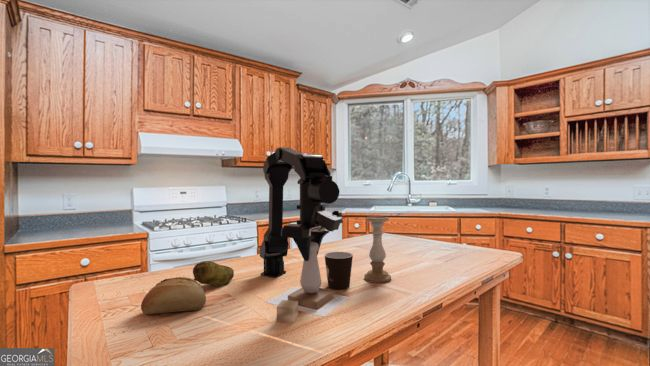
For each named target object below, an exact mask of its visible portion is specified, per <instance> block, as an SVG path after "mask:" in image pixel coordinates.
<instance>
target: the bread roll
mask: <svg viewBox="0 0 650 366" xmlns="http://www.w3.org/2000/svg"><path fill="white" fill-rule="evenodd" d="M143 297H144V298H143V299H142V301H141V304H140V309H141V312H142V313H143V314H145V315H152V314H162V313H163V314H165V313H174V312H190V311H191V312H192V311H197V310H200V309H202V308H203V307H204V306H205V305H206V302H207V296H206V292H205V291H204V290H203V288H202V286H201V283H199V282H198V281H195V280H194V279H193V278H191V277H187V276H182V277H181V276H179V277H178V276H176V277H170V278H165V279H163V280H161V281H159V282H158V283H156V284H155V285H154V287H152V288H151V289H149V291H148V292H147V293H146V294H145V296H143Z"/></svg>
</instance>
